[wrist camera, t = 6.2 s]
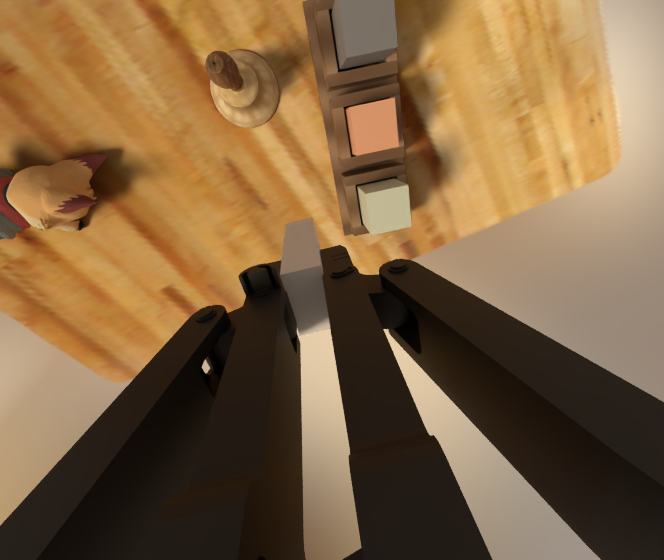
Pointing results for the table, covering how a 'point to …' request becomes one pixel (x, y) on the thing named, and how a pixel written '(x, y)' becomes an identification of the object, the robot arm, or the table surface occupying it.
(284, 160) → the table surface
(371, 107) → the terracotta button
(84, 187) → the figurine
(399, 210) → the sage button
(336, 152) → the wooden base
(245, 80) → the hand bell
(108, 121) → the table surface
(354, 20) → the grey square block
